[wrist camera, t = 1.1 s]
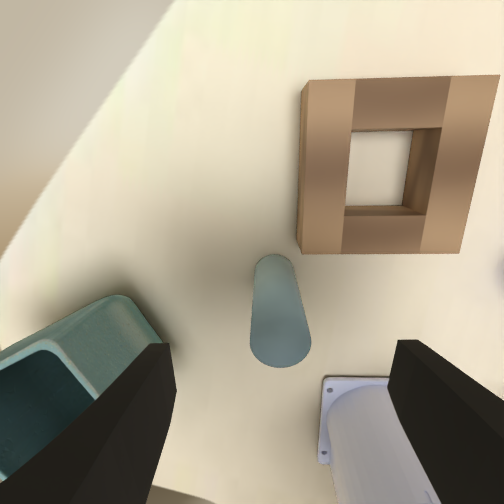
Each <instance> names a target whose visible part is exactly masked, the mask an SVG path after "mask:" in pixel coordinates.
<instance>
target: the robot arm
mask: <svg viewBox="0 0 504 504" xmlns="http://www.w3.org/2000/svg"><path fill="white" fill-rule="evenodd" d="M328 388H331V389H328ZM176 392H177V389H176V383H175V377H174V370H173V364H172V358H171V351H170V345H169V343H150V344H149V345H148V346H147V347H146V348H145V349H144V350H143V351H142V352H141V353H140V354H139V355H138V356H137V357H136V358H135V359H134V360H133V361H132V362H131V364H130V365H129V366H128V367H127V368H126V369H125V370H124V371H123V372H122V373H121V374H120V375H119V376H118V377H117V378H116V379H115V380H114V381H113V383H112V384H111V385H110V386H109V387H108V388H107V389H106V390H105V391H104V392H103V393H102V394H101V395H100V396H99V397H98V398H97V399H96V400H95V401H94V402H93V403H92V404H91V405H90V406H89V407H88V408H87V409H86V410H84V411H83V412H82V413H81V414H80V415H79V416H78V417H77V418H76V419H75V420H74V421H73V422H72V423H71V424H70V425H69V426H68V427H66V428H65V429H64V430H63V431H62V432H61V433H60V434H59V435H58V436H57V437H55V438H54V439H53V440H52V441H51V442H50V443H49V444H48V445H46V446H45V447H44V448H43V449H42V450H41V451H39V452H38V453H37V454H36V455H35V456H33V457H32V458H31V459H30V460H29V461H27V462H26V463H25V464H24V465H23V466H21V467H20V468H19V469H18V470H17V471H15V472H14V473H13V474H12V475H10V476H9V477H8V478H7V479H5V480H4V481H3V482H1V483H0V504H146V500H147V497H148V494H149V491H150V487H151V484H152V481H153V478H154V475H155V472H156V469H157V465H158V462H159V459H160V456H161V453H162V449H163V446H164V443H165V440H166V436H167V433H168V430H169V426H170V422H171V418H172V413H173V408H174V402H175V397H176ZM317 458H318V462H319V463H320V464H330V468H331V473H332V478H333V482H334V487H335V492H336V496H337V501H338V504H504V401H503V400H502V399H501V398H499V397H498V396H496V395H495V394H493V393H492V392H490V391H489V390H488V389H486V388H485V387H483V386H482V385H481V384H479V383H478V382H476V381H475V380H474V379H472V378H471V377H469V376H468V375H467V374H465V373H464V372H462V371H461V370H460V369H458V368H457V367H456V366H454V365H453V364H451V363H450V362H449V361H447V360H446V359H444V358H443V357H442V356H440V355H439V354H438V353H436V352H435V351H433V350H432V349H431V348H429V347H428V346H426V345H425V344H423V343H422V342H420V341H419V340H398V341H397V346H396V350H395V355H394V359H393V363H392V368H391V372H390V377H389V378H355V377H328V378H326V379H324V381H323V390H322V403H321V416H320V429H319V441H318V454H317Z"/></svg>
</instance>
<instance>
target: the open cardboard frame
mask: <svg viewBox="0 0 504 504" xmlns="http://www.w3.org/2000/svg"><path fill="white" fill-rule="evenodd" d="M499 79H500V75H472V76H437V77H402V78H367V79H332V80H309V81H308V82H307V84H306V85H305V87H304V88H303V90H302V91H301V118H300V148H299V178H298V208H297V238H296V240H297V242H298V245H299V248H300V250H301V253H302V254H459V252H460V248H461V243H462V239H463V235H464V230H465V226H466V222H467V217H468V213H469V209H470V204H471V200H472V196H473V191H474V187H475V183H476V178H477V174H478V170H479V165H480V161H481V157H482V152H483V148H484V144H485V139H486V135H487V131H488V126H489V122H490V118H491V113H492V109H493V105H494V100H495V96H496V92H497V87H498V83H499ZM371 131H413V137H412V143H411V150H410V156H409V163H408V170H407V176H406V183H405V189H404V196H403V202H402V205H398V206H345V199H346V187H347V176H348V164H349V153H350V142H351V132H371Z"/></svg>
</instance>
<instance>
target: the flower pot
mask: <svg viewBox="0 0 504 504" xmlns="http://www.w3.org/2000/svg"><path fill="white" fill-rule="evenodd" d="M150 343H163V342H162V340H161V339H160V338H159V336H158V335H157V334H156V332H155V331H154V329H153V328H152V327H151V326H150V324H149V323H148V321H147V320H146V319H145V317H144V316H143V315H142V313H141V312H140V310H139V309H138V308H137V306H136V305H135V303H134V302H133V301H132V300H131V299H130V298H129V297H126V296H123V295H111V296H108V297H105V298H102V299H100V300H97V301H95V302H93V303H91V304H89V305H88V306H86V307H84V308H82V309H80V310H78V311H76V312H74V313H72V314H71V315H69V316H67V317H65V318H63V319H61V320H59V321H57V322H55V323H54V324H52V325H50V326H48V327H46V328H44V329H42V330H40V331H38V332H36V333H34V334H32V335H30V336H28V337H26V338H24V339H22V340H20V341H18V342H16V343H15V344H13V345H11V346H9V347H8V348H6V349H4V350H3V351H1V352H0V479H1V480H2V481H4V480H5V479H7V478H8V477H9V476H10V475H12V474H13V473H14V472H15V471H17V470H18V469H19V468H20V467H21V466H23V465H24V464H25V463H26V462H27V461H29V460H30V459H31V458H32V457H33V456H35V455H36V454H37V453H38V452H39V451H41V450H42V449H43V448H44V447H45V446H46V445H48V444H49V443H50V442H51V441H52V440H53V439H54V438H55V437H57V436H58V435H59V434H60V433H61V432H62V431H63V430H64V429H65V428H66V427H68V426H69V425H70V424H71V423H72V422H73V421H74V420H75V419H76V418H77V417H78V416H79V415H80V414H81V413H82V412H83V411H84V410H86V409H87V408H88V407H89V406H90V405H91V404H92V403H93V402H94V401H95V400H96V399H97V398H98V397H99V396H100V395H101V394H102V393H103V392H104V391H105V390H106V389H107V388H108V387H109V386H110V385H111V384H112V383H113V381H114V380H115V379H116V378H117V377H118V376H119V375H120V374H121V373H122V372H123V371H124V370H125V369H126V368H127V367H128V366H129V365H130V364H131V362H132V361H133V360H134V359H135V358H136V357H137V356H138V355H139V354H140V353H141V352H142V351H143V350H144V349H145V348H146V347H147V346H148V345H149V344H150Z"/></svg>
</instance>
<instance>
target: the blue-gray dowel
mask: <svg viewBox="0 0 504 504" xmlns="http://www.w3.org/2000/svg"><path fill="white" fill-rule="evenodd" d="M250 347H251V350H252V352H253V354H254V356H255V357H256V358H257V359H258V360H259V361H261V362H262V363H264V364H266V365H268V366H271V367H277V368H284V367H290V366H293V365H295V364H297V363H299V362H300V361H302V360H303V359H304V358H305V357H306V356H307V354H308V352H309V350H310V347H311V336H310V332H309V328H308V324H307V320H306V316H305V312H304V308H303V304H302V300H301V296H300V292H299V289H298V285H297V281H296V277H295V273H294V269H293V266H292V264H291V262H290V261H289V260H288V259H287V258H285V257H283V256H281V255H268V256H266V257H264V258H262V259H261V260H260V261H259V262H258V263H257V265H256V268H255V275H254V289H253V304H252V319H251V333H250Z"/></svg>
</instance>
